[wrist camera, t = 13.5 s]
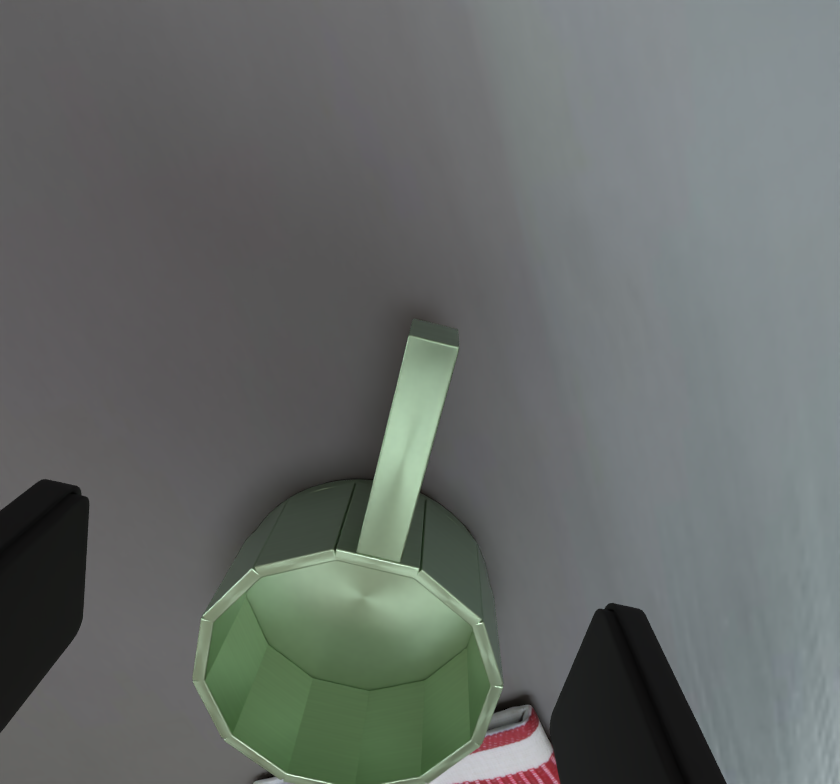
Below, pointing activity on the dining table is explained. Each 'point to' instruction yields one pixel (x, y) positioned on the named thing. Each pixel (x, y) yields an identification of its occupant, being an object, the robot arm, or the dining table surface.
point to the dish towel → (502, 754)
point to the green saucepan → (359, 616)
